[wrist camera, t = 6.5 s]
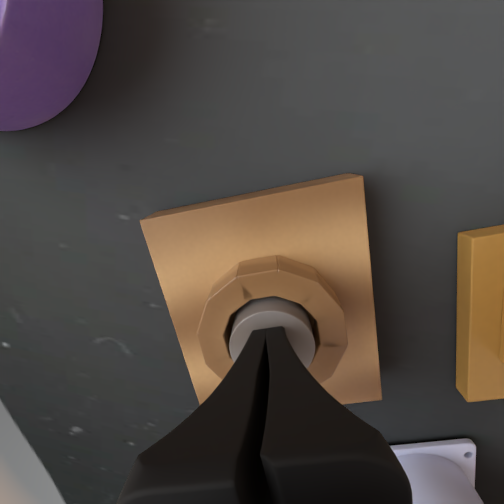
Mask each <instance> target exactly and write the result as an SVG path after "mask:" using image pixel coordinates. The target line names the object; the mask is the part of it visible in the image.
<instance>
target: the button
mask: <svg viewBox="0 0 504 504" xmlns="http://www.w3.org/2000/svg"><path fill="white" fill-rule="evenodd" d="M278 326H282V327H284V328H285V332H286V336H287V338H288V340H289V342H290V344H291V346H292V348H293V349H294V351H295V353H296V354H297V356H298V357H299V359H300V360H301V362H302V363H303V364H304V366H305V367H306V368H308V367H309V365H310V364H311V362H312V360H313V357H314V353H315V341H314V337H313V333H312V329H311V325H310V321H309V317H308V314H307V312H306V310H305V309H304V307H303V306H302V305H301V304H299V303H296V302H293V301H290V300H287V299H284V298H281V297H278V296H271V297H265V298H258V299H252V300H249V301H248V302H247V303H245V304H244V305H243V306H242V307H240V308H239V309H238V310H237V312H236V314H235V318H234V322H233V327H232V332H231V337H230V343H229V350H230V354H231V357H232V360H233V362H235V361H236V359H237V357H238V356H239V354H240V352H241V351H242V349H243V347H244V345H245V344H246V342H247V340H248V338H249V336H250V334H251V332H252V331H253V330H258V329H265V328H271V327H278Z"/></svg>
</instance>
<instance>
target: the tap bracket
mask: <svg viewBox="0 0 504 504" xmlns="http://www.w3.org/2000/svg"><path fill="white" fill-rule="evenodd" d="M456 388H457V389H458V391H459V392H460V393H461V394H462V396H463V397H464V398H465V399H466V401H467V402H475V401H484V400H493V399H502V398H504V225H498V226H492V227H487V228H481V229H475V230H469V231H463V232H459V233H458V247H457V330H456Z"/></svg>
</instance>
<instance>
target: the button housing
mask: <svg viewBox="0 0 504 504" xmlns="http://www.w3.org/2000/svg"><path fill="white" fill-rule="evenodd" d="M140 224H141V227H142V230H143V233H144V236H145V239H146V242H147V245H148V248H149V251H150V254H151V257H152V260H153V263H154V266H155V269H156V273H157V276H158V279H159V282H160V285H161V288H162V291H163V294H164V297H165V300H166V303H167V306H168V309H169V312H170V315H171V318H172V321H173V324H174V327H175V330H176V333H177V336H178V340H179V343H180V346H181V349H182V352H183V355H184V358H185V361H186V364H187V367H188V370H189V373H190V376H191V379H192V382H193V385H194V388H195V391H196V394H197V397H198V400H199V403H200V405H201V404H202V403H203V402H204V401H205V400H206V399H207V398H208V397H209V396H210V395H211V393H212V392H213V391H214V390H215V389H216V388H217V386H218V385H219V384H220V382H221V381H222V380H223V378H224V377H225V376H226V374H227V373H228V371H229V370H230V368H231V367H232V365H233V364H234V362H233V360H232V357H231V354H230V350H229V343H230V337H231V332H232V327H233V322H234V318H235V314H236V312H237V310H238V309H239V308H240V307H242V306H243V305H244V304H245V303H247V302H248V301H249V300H252V299H258V298H265V297H271V296H278V297H281V298H284V299H287V300H290V301H293V302H296V303H299V304H301V305H302V306H303V307H304V309H305V310H306V312H307V314H308V317H309V321H310V325H311V329H312V333H313V337H314V341H315V353H314V357H313V360H312V362H311V364H310V365H309V367H308V368H307V370H308V371H309V372H310V373H311V375H312V376H313V377H314V378H315V379H316V380H317V381H318V383H319V384H320V385H321V386H322V387H323V388H324V389H325V390H326V391H327V392H328V393H329V394H330V395H332V396H333V397H334V398H335V399H336V400H337V401H338V402H340V403H341V404H350V403H359V402H367V401H376V400H382V392H381V380H380V368H379V356H378V345H377V333H376V321H375V309H374V298H373V286H372V274H371V262H370V251H369V239H368V227H367V215H366V204H365V192H364V180H363V176H360V175H356V174H352V173H346V174H341V175H336V176H331V177H326V178H321V179H316V180H311V181H306V182H301V183H296V184H291V185H286V186H281V187H276V188H271V189H266V190H261V191H256V192H251V193H246V194H241V195H237V196H232V197H227V198H222V199H217V200H212V201H207V202H202V203H197V204H192V205H187V206H182V207H177V208H172V209H167V210H162V211H157V212H155V213H153V214H151V215H149V216H147V217H145V218H144V219H142V220H140Z"/></svg>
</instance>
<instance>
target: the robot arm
mask: <svg viewBox="0 0 504 504" xmlns="http://www.w3.org/2000/svg"><path fill="white" fill-rule="evenodd" d="M475 465H476V445H475V444H474V443H473V441H472V440H471V439H468V438H463V439H453V440H443V441H432V442H422V443H412V444H402V445H392V446H389V444H388V443H387V441H386V440H385V439H384V437H383V436H382V434H381V433H380V432H379V431H378V430H376V429H375V428H373V427H372V426H370V425H369V424H367V423H366V422H364V421H363V420H361V419H360V418H358V417H357V416H356V415H354V414H353V413H352V412H350V411H349V410H348V409H347V408H345V407H344V406H343V405H342V404H341V403H340V402H338V401H337V400H336V399H335V398H334V397H333V396H332V395H330V394H329V393H328V392H327V391H326V390H325V389H324V388H323V387H322V386H321V385H320V384H319V383H318V381H317V380H316V379H315V378H314V377H313V376H312V375H311V373H310V372H309V371H308V370H307V368H306V367H305V366H304V364H303V363H302V362H301V360H300V359H299V357H298V356H297V354H296V353H295V351H294V349H293V348H292V346H291V344H290V342H289V340H288V338H287V336H286V332H285V328H284V327H282V326H278V327H271V328H265V329H258V330H253V331H252V332H251V334H250V336H249V338H248V340H247V342H246V344H245V345H244V347H243V349H242V351H241V352H240V354H239V356H238V357H237V359H236V361H235V362H234V364H233V365H232V367H231V368H230V370H229V371H228V373H227V374H226V376H225V377H224V378H223V380H222V381H221V382H220V384H219V385H218V386H217V388H216V389H215V390H214V391H213V392H212V393H211V395H210V396H209V397H208V398H207V399H206V400H205V401H204V402H203V403H202V404H201V405H200V406H199V407H198V408H197V409H196V410H195V411H194V412H193V413H192V414H191V415H190V416H189V417H188V418H187V419H185V420H184V421H183V422H182V423H181V424H180V425H178V426H177V427H176V428H175V429H174V430H172V431H171V432H170V433H169V434H167V435H166V436H165V437H163V438H162V439H161V440H159V441H158V442H156V443H155V444H154V445H152V446H151V447H150V448H148V449H147V450H145V451H144V452H142V453H141V454H139V455H138V457H137V459H136V461H135V463H134V465H133V467H132V469H131V471H130V473H129V475H128V477H127V480H126V482H125V484H124V487H123V489H122V491H121V494H120V496H119V499H118V501H117V503H116V504H484V503H483V501H482V500H481V498H480V497H479V495H478V493H477V492H476V490H475Z"/></svg>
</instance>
